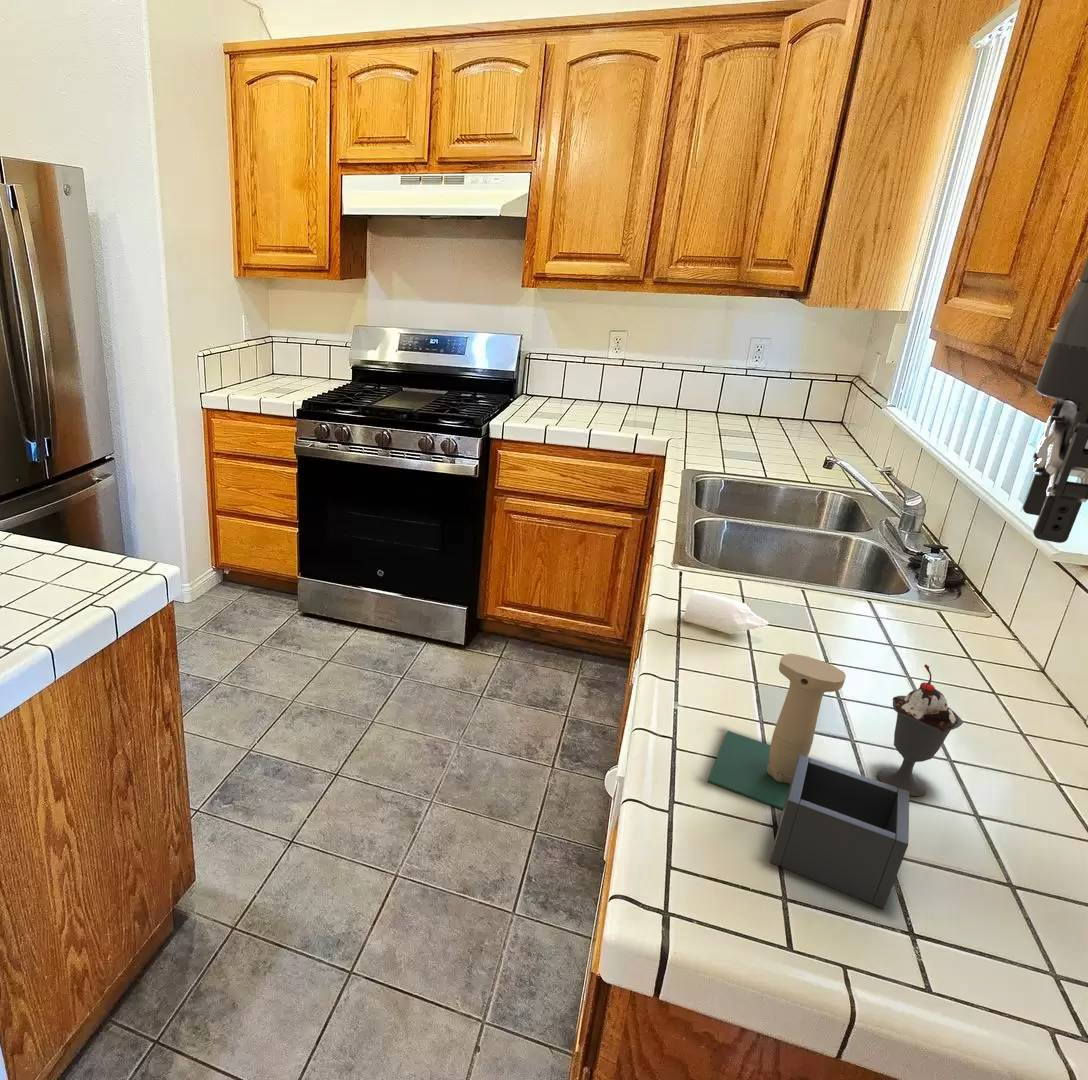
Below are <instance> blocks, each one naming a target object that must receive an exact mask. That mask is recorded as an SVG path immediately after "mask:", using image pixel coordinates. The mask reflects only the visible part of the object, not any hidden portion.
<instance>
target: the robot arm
mask: <svg viewBox="0 0 1088 1080" xmlns="http://www.w3.org/2000/svg"><path fill="white" fill-rule="evenodd" d="M1077 280H1078V281H1077V283H1076V285H1075V287H1074V289H1073V291H1072V293H1071V295H1070V296H1069V298H1068V301H1067V302H1066V304H1065V306H1064V308H1063V311H1062V313H1061V316H1060V319H1059V322H1058V324H1057V327H1056V330H1055V333H1054V335H1053V338H1052V341H1051V343H1050V346H1049V349H1048V352H1047V355H1046V358H1045V360H1044V363H1043V366H1042V369H1041V371H1040V374H1039V377H1038V379H1037V384H1036V386H1035V390H1036V392H1037V393H1038V394H1039V395H1041V396H1044V397H1047V398H1051V399H1055V402H1054V403H1052V406H1051V411H1050V415H1049V416H1048V419H1047V421H1046V423H1045V426H1044V431H1043V433H1042V435H1041V438H1040V441H1039V443H1038V445H1037V449H1036V451H1035V452H1034V453H1033V457H1032V458H1033V462H1034V463H1033V464H1032V465H1033V466H1032V469H1033V473H1034V474H1033V477H1032V480H1031V483H1030V486H1029V488H1028V491H1027V493H1026V497H1025V499H1024V502H1023V504H1022V510H1023V512H1024V513H1025V514H1026V515H1027V514H1028V515H1032V516H1038V518H1037V520H1036V523H1035V525H1034V528H1033V531H1032V533H1033V536H1034V537H1035V538H1036V539H1037V540H1040V541H1046V542H1050V543H1051V542H1052V543H1056V544H1057V543H1058V544H1062V543H1066V542H1067V541H1068V539H1069V537H1070V535H1071V532H1072V529H1073V526H1074V525H1075V522H1076V520H1077V517H1078V514H1079V511H1080V509H1081V507H1082V504H1083V503H1086V502H1087V501H1088V253H1087V254H1086V257H1085V260H1084V263H1083V265H1082V268H1081V271H1080V274H1079V277H1078V279H1077ZM1069 477H1074V478H1075V477H1076V478H1079V479H1080V482H1075V481H1069V480H1068V479H1069Z"/></svg>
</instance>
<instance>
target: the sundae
mask: <svg viewBox="0 0 1088 1080" xmlns="http://www.w3.org/2000/svg"><path fill="white" fill-rule="evenodd" d="M924 668H925V670H926V671H927V673H928V675H929V678H928V682H925V681H924V682H921V683H920V684H919V687H918V689H915V690H914V689H913V690H912V691H909V693H907V695H896V696H894V697H893V698H892V708H893V710H894V712H895V713H896V721H895V726H894V727H895V728H894V735H893V738H894V739H893V746H894V748H895V749H896V751H897V753H898V754H899V755H900V756H901V757H902V759H903V760H902V762H901V765H900V767H899V768H895V767H894V768H893V767H883V768H881V769H879V770H878V771H877V778H878V780H879V781H880V782H883V783H886V784H889V785H891V786H894V787H897V788H900V789H903V790H906V791H909V797H921V796H924V795H925V794H926V793H927V792H928V790H927V786H926V785H925V783H924V782H923V780H921V779H920V778H919V777H917V776H915V775H913V770H914V768H915V764H916V763H922V762H926V761H930V760H932V759H933V758H934V757H935V756H936V754H937V753H938V751H939V750H940V749H941V747H942V745H943V744H944V742H945V741H946V739H947V737H948V736H949V734H950V732H951V731H953V730H955V729H959V727H961V726H962V725H963V724H964V721H963V719H962V718H961V717H960V716H959V715H958V714H957V713H956V712H955V711H954V710H953V709H952V708H950V707H949V706H948V700H947V699H946V697H945V695H944V694H943V693H942V692H940V690H938V689H936V688H935V686H934V684H932V673H931V671H930V666H929V665H928V664H926V663H925V664H924Z"/></svg>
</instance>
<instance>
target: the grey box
mask: <svg viewBox="0 0 1088 1080" xmlns="http://www.w3.org/2000/svg"><path fill="white" fill-rule="evenodd" d="M909 825H910V796H909V791H906V790H903V789H900V788H897V787H894V786H891V785H889V784H886V783H883V782H881V781H880V780H877V779H873V778H872V777H871V778H870V777H868V776H866V775H865V776H864V775H862V774H859V773H856V772H853V771H850V770H847V769H844V768H841V767H838V766H834V765H833V764H829V763H826V762H823V761H822V760H821V761H820V760H818V759H814V758H812V757H809V756H808V757H806V756H803V755H800V754H799V756H798V759H797V763H796V766H795V770H794V773H793V776H792V780H791V783H790V787H789V790H788V794H787V797H786V800H785V804H784V807H783V810H781V815H780V818H779V823H778V827H777V831H776V835H775V839H774V843H773V847H772V851H771V855H770V860H769V863H772V864H773V865H776V866H778V867H780V868H783V869H786V870H788V871H790V872H792V873H795V874H797V875H800V876H803V877H805V878H807V879H810V880H812V881H815V882H817V883H818V884H819V883H820V884H822V885H824V886H827V887H830V888H832V889H834V890H837V891H839V892H841V893H844V894H846V895H849V896H851V897H854V898H856V899H858V900H861V901H863V902H865V903H868V904H870V905H871V904H872V905H873V906H875V907H878V908H880V909H883V910H884V909H885V907H886V905H887V902H888V900H889V897H890V895H891V892H892V889H893V887H894V884H895V881H896V879H897V876H898V873H899V871H900V868H901V866H902V863H903V860H904V857H905V855H906V853H907V849H908V847H909V837H910V836H909V834H910V833H909V831H910V830H909V829H910V826H909Z"/></svg>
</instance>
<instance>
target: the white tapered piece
mask: <svg viewBox="0 0 1088 1080" xmlns="http://www.w3.org/2000/svg"><path fill="white" fill-rule="evenodd" d="M683 614H684V615H683V620H684V621H685V622H686V623H691V624H695V625H698V626H701V627H705V628H708V629H711V630H715V631H718V632H720V633H721V632H722V633H724V634H728V635H733V634H736V633H738V632H746V631H749V630H754V629H758V628H760V627H761V628H762V627H766V626H769V621H767V620H765V618H762V617H761V616H758V615H757V614H755V613H754V612H753V611H752V610H751V608H750V607H749V606H748V605H747V604H746V603H744V602H741V601H737V600H734V599H730V598H727V597H723V596H720V595H717V594H712V593H708V592H703V591H698V590H693V591H692V592H691V594H690V596H689V598H688V601H687V603H686V606H685V609H684V613H683Z"/></svg>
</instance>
